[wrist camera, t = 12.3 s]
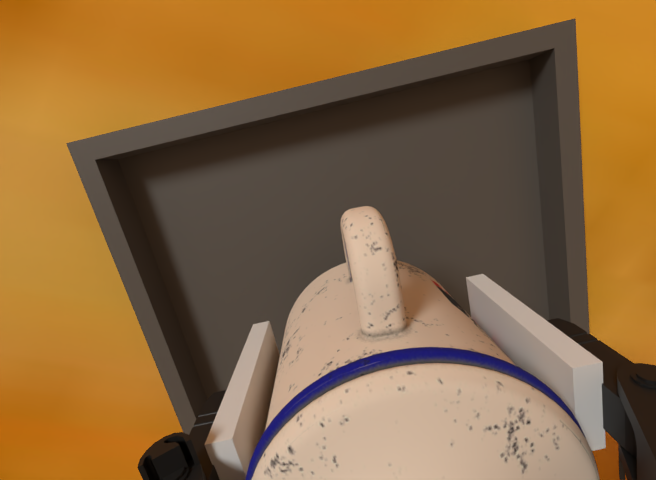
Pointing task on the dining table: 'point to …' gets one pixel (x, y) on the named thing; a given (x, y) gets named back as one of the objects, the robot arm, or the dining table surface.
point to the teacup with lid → (404, 384)
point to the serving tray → (346, 196)
